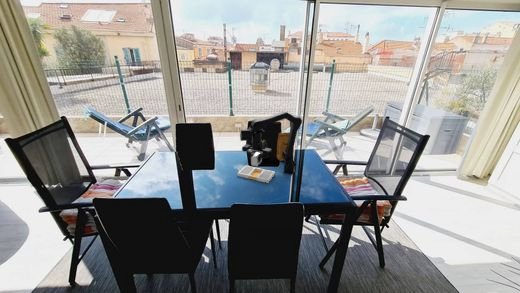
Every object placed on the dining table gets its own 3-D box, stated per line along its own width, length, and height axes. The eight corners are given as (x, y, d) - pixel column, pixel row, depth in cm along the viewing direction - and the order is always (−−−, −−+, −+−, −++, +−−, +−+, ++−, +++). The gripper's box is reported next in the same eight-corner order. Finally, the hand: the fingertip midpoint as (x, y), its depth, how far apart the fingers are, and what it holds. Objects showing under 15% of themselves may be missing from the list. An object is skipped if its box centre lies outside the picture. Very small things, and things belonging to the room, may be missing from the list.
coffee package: (294, 161, 166) (296, 134, 158) (278, 162, 165) (279, 134, 156) (290, 156, 175) (293, 130, 167) (275, 156, 174) (277, 130, 165)
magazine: (273, 156, 170) (265, 140, 164) (257, 163, 171) (249, 147, 165) (272, 154, 173) (264, 138, 168) (257, 161, 175) (249, 145, 169)
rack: (274, 174, 148) (274, 171, 147) (268, 183, 137) (268, 180, 136) (245, 167, 156) (245, 165, 155) (237, 175, 145) (237, 173, 144)
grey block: (261, 161, 146) (261, 153, 144) (256, 166, 139) (257, 157, 137) (256, 160, 147) (256, 152, 145) (251, 165, 140) (251, 156, 138)
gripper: (275, 137, 140) (274, 159, 146) (249, 133, 147) (249, 154, 153) (268, 143, 131) (268, 166, 137) (241, 138, 137) (241, 161, 143)
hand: (256, 161), depth 143 cm, fingers closed on grey block, 4 cm apart
